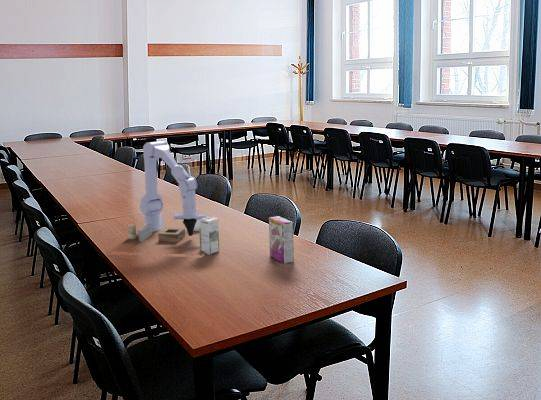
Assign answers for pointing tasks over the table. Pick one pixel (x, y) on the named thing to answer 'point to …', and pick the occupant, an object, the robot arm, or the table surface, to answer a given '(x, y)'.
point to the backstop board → (145, 232)
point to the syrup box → (209, 235)
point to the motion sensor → (196, 226)
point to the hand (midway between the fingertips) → (190, 235)
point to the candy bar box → (281, 239)
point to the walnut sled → (171, 235)
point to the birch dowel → (131, 231)
